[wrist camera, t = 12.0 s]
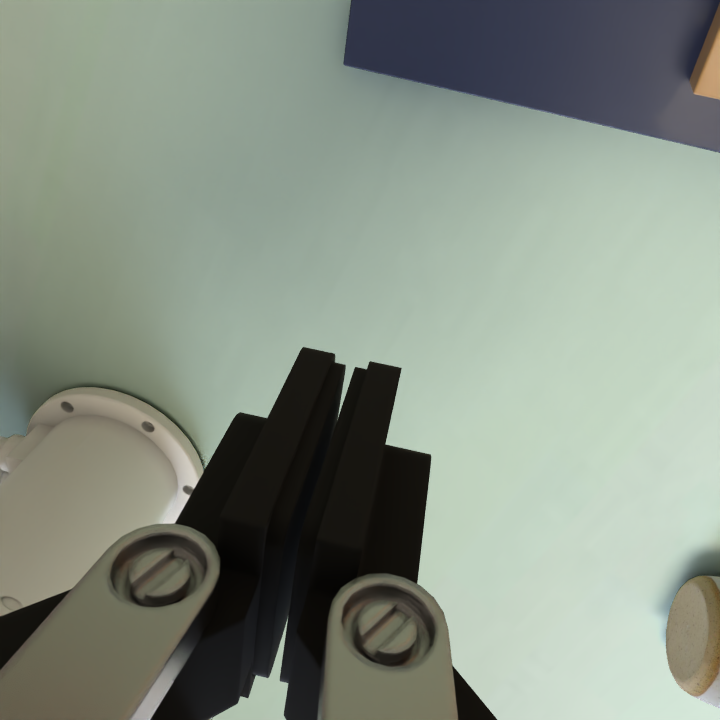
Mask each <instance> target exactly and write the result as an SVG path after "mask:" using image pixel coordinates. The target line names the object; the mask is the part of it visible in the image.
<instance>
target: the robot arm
mask: <svg viewBox="0 0 720 720" xmlns="http://www.w3.org/2000/svg"><path fill="white" fill-rule="evenodd" d="M345 368H346V366H345V365H344V364H339V363H335V354H333V353H329V352H324V351H319V350H315V349H310V348H305V347H303V348H302V349H301V351H300V353H299V355H298V357H297V359H296V361H295V363H294V365H293V367H292V369H291V371H290V373H289V375H288V377H287V379H286V381H285V383H284V385H283V388H282V390H281V392H280V394H279V396H278V398H277V400H276V402H275V404H274V406H273V408H272V410H271V412H270V414H269V416H268V418H263V417H259V416H254V415H250V414H245V413H241V412H240V413H238V414H237V415H236V416H235V418H234V419H233V421H232V422H231V424H230V426H229V428H228V430H227V431H226V433H225V435H224V437H223V438H222V440H221V442H220V444H219V446H218V447H217V449H216V451H215V453H214V454H213V456H212V458H211V460H210V462H209V463H208V465H207V467H206V469H205V470H204V471H203V466H202V464H201V461H200V459H199V456H198V454H197V452H196V450H195V449H194V447H193V446H192V444H191V442H190V441H189V439H188V438H187V437H186V436H185V435H184V433H183V432H182V431H181V430H180V429H179V428H178V427H177V426H176V425H175V424H174V423H173V422H172V421H171V420H169V419H168V418H167V417H166V416H165V415H164V414H162V413H161V412H159V411H158V410H156V409H155V408H153V407H152V406H150V405H149V404H147V403H145V402H143V401H140V400H138V399H136V398H134V397H132V396H130V395H127V394H124V393H120V392H117V391H114V390H109V389H103V388H97V387H79V388H74V389H69V390H64V391H62V392H60V393H58V394H56V395H54V396H52V397H51V398H50V399H48V400H47V401H46V402H45V403H44V404H43V405H42V406H41V407H40V408H39V409H38V410H37V411H36V412H35V413H34V415H33V416H32V418H31V420H30V422H29V424H28V427H27V434H26V436H23V435H19V434H16V435H12V436H11V437H9V438H5V437H1V436H0V720H212V719H213V717H214V716H216V715H218V714H219V713H221V712H223V711H225V710H227V709H229V708H230V707H232V706H234V705H236V704H238V701H239V698H240V696H242V697H246V698H248V697H249V694H250V691H251V688H252V685H253V682H254V679H255V676H256V675H258V676H262V677H266V678H268V677H269V676H270V673H271V670H272V667H273V664H274V661H275V657H276V654H277V651H278V648H279V644H280V641H281V638H282V635H283V631H284V628H285V625H286V621H287V618H288V623H287V631H286V638H285V645H284V652H283V660H282V667H281V674H280V681H282V682H286V683H289V684H288V691H287V697H286V704H285V710H284V716H285V718H286V720H497V719H496V718H495V716H494V715H493V714H492V713H491V712H490V710H489V709H488V708H487V707H486V705H485V704H484V703H483V702H482V701H481V699H480V698H479V697H478V696H477V695H476V693H475V692H474V691H473V690H472V689H471V687H470V686H469V685H468V684H467V682H466V681H465V680H464V679H463V678H462V676H461V675H460V674H459V673H458V672H457V670H456V669H455V668H454V667H453V666H452V659H451V650H450V641H449V632H448V626H447V623H446V619H445V616H444V612H443V611H442V609H441V608H440V606H439V605H438V603H437V602H436V600H435V599H434V597H433V596H431V595H430V594H429V593H428V592H427V591H426V590H425V589H424V588H422V587H421V586H420V585H418V584H417V580H418V572H419V563H420V554H421V545H422V536H423V527H424V519H425V510H426V501H427V492H428V483H429V474H430V466H431V455H430V454H425V453H421V452H416V451H412V450H407V449H403V448H398V447H394V446H389V445H385V443H386V438H387V434H388V429H389V424H390V420H391V415H392V410H393V406H394V401H395V396H396V392H397V387H398V382H399V378H400V373H401V368H399V367H394V366H389V365H385V364H380V363H375V362H371V361H370V362H369V365H368V368H367V369H362V368H358V367H355V369H354V372H353V375H352V378H351V381H350V384H349V387H348V390H347V393H346V396H345V399H344V402H343V405H342V408H341V411H340V414H339V417H338V413H339V407H340V400H341V394H342V388H343V382H344V375H345ZM337 419H338V420H337ZM288 615H289V616H288Z"/></svg>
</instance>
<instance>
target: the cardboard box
mask: <svg viewBox="0 0 720 720" xmlns="http://www.w3.org/2000/svg"><path fill="white" fill-rule="evenodd" d="M690 85H691V88H692V91H693V93H694V94H695V95H700V96H705V97H710V98H715V99H720V3H719V6H718V8H717V11H716V14H715V16H714V19H713V21H712V24H711V26H710V29H709V31H708V34H707V37H706V39H705V42H704V44H703V47H702V49H701V52H700V54H699V57H698V59H697V62H696V65H695V67H694V70H693V72H692V75H691V77H690Z"/></svg>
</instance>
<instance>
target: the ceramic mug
mask: <svg viewBox="0 0 720 720" xmlns="http://www.w3.org/2000/svg"><path fill="white" fill-rule="evenodd" d="M666 653H667V659H668V664H669V668H670V671H671V673H672V675H673V677H674V679H675V681H676V682H677V684H678V685H679V686H680V688H681V689H683V690H684V691H686V692H687V693H688V694H690V695H691V696H694V697H696V698H698V699H700V700H702V701H704V702H706V703H708V704H710V705H713V706H715V707H718V708H720V577H716V576H697V577H694V578H692V579H690V580H688V581H687V582H686V583H685V584H684V585H683V586H682V587H681V588H680V589H679V591H678V592H677V594H676V596H675V598H674V601H673V603H672V606H671V608H670V613H669V617H668V623H667V630H666Z"/></svg>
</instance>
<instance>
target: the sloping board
mask: <svg viewBox="0 0 720 720" xmlns="http://www.w3.org/2000/svg"><path fill="white" fill-rule="evenodd" d="M719 3H720V0H351V7H350V15H349V23H348V31H347V39H346V47H345V55H344V65H345V66H349V67H354V68H358V69H362V70H367V71H371V72H375V73H380V74H384V75H388V76H392V77H397V78H401V79H405V80H410V81H414V82H418V83H423V84H427V85H431V86H435V87H440V88H444V89H448V90H453V91H457V92H461V93H466V94H470V95H474V96H478V97H483V98H487V99H491V100H496V101H500V102H504V103H509V104H513V105H517V106H522V107H526V108H530V109H534V110H539V111H543V112H547V113H552V114H556V115H560V116H565V117H569V118H573V119H577V120H582V121H586V122H590V123H595V124H599V125H603V126H608V127H612V128H616V129H620V130H625V131H629V132H633V133H638V134H642V135H646V136H651V137H655V138H659V139H663V140H668V141H672V142H676V143H681V144H685V145H689V146H694V147H698V148H702V149H706V150H711V151H715V152H719V153H720V99H715V98H710V97H705V96H700V95H695V94H694V93H693V91H692V88H691V85H690V77H691V75H692V72H693V70H694V67H695V65H696V62H697V59H698V57H699V54H700V52H701V49H702V47H703V44H704V42H705V39H706V37H707V34H708V31H709V29H710V26H711V24H712V21H713V19H714V16H715V14H716V11H717V8H718V6H719Z"/></svg>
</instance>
